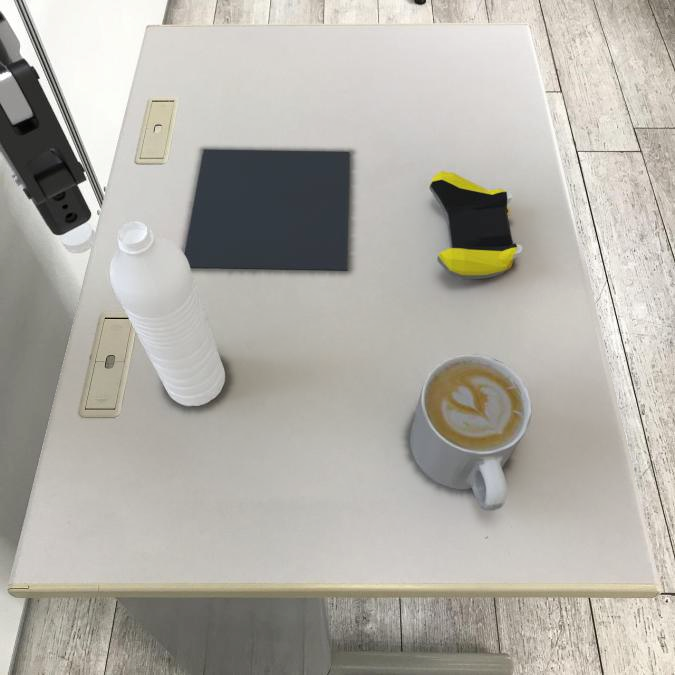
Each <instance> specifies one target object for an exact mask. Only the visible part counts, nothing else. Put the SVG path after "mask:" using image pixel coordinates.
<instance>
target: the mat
mask: <svg viewBox="0 0 675 675" xmlns="http://www.w3.org/2000/svg"><path fill="white" fill-rule="evenodd" d="M202 150H203V151H202V156H201V161H200V162H201V163H200V166H199V174H198V177H197V183H196V188H195V193H194V200H193V206H192V210H191V216H190V222H189V226H188V227H189V228H188V233H187V238H186V243H185V248H184V255H185V256H186V258H187V260H188V263H189V265H190V269H231V270H232V269H233V270H234V269H236V270H238V269H240V270H285V271H286V270H287V271H288V270H290V271H335V272H336V271H337V272H338V271H339V272H342V271H344V272H345V271H348V242H349V241H348V240H349V238H348V237H349V194H350V193H349V191H350V186H349V185H350V151H341V150H340V151H339V150H338V151H336V150H335V151H333V150H331V151H330V150H323V151H322V150H276V149H275V150H274V149H273V150H271V149H208V148H205V149H202Z"/></svg>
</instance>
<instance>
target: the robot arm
mask: <svg viewBox="0 0 675 675" xmlns="http://www.w3.org/2000/svg"><path fill="white" fill-rule="evenodd" d="M20 51H21V42H20V40H19V38H18V36H17V35H16V32H15V31H14V29H13V28H12V27H11V24H10V22H9V21H8V19H7V18H6V17H5V15H4V13H3V12H2V11H1V10H0V155H1V157H2V159H3V160H4V161H5V163H6V165H7V166H8V168H9V169H10V170H11V172H12V174H13V175H11V178H12V179H13V181H14V183H15V184H16V185H17V186H18V187H19V186H21V188H22V191H23V193H24V195H25V196H26V198H27V200H29V201H30V200H31V202H32V203H33V205H34V206H35V208H36V210H37V212H38V213H39V215H40V217H41V218H42V220H43V221H44V223H45V225H46V226H47V228H48V229H49V230H50V232H51V233H52V234H53V235H55V236H59V235H63V234H65V233H67V232H69V231H71V230H73V229H75V228H76V227H78V226H80V225H82V224H84V223H86V222H87V223H88V222H89V221H90V219H91V218H92V210H91V209H90V207H89V206H88V203H87V201H86V199H85V198H84V195H83V193H82V191H81V188H80V187H79V185H80V184H83V183H84V182H86V181H87V180H88V179H87V176H86V175H85V173H86V169H85V168H84V165H83V164H82V163H81V162H80V161H78V158H77V156H76V154H75V152H74V150H73V147H72V146H71V144H70V142H69V139H68V138H67V136H66V133H65V132H64V129H63V127H62V126H61V124H60V121H59V119H58V117H57V115H56V113H55V111H54V109H53V107H52V105H51V103H50V101H49V99H48V96H47V95H46V92H45V91H44V89H43V86H42V84H41V82H40V81H39V80H41V77H40V74H39V72H38V71H37V70H36V68H35V67H34V66H33V65H30V63H29V62H28V61H27V59H25V58H24V57H23V56H22V55H21V52H20Z"/></svg>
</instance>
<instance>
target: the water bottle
mask: <svg viewBox="0 0 675 675" xmlns="http://www.w3.org/2000/svg"><path fill="white" fill-rule="evenodd" d="M58 236H59V240H60V242H61V244H62V246H63V247H64V249H65V250H66V251H67V252H69V253H71V254H82V253H85V252H87V251H89V250H91V249H92V248H93V247H94V245H95V244H96V242H97V235H96V233H95V231H94V229H93V227H92V225H91V224H90V223H88V221H87V222H86V223H84V224H82V225H80V226H78V227H76V228H75V229H73V230H71V231H69V232H67V233H65V234H63V235H58ZM117 246H118V249H117V250H116V252H115V253H114V255H113V256H112V259H111V262H110V265H109V282H110V285H111V288H112V291H113V292H114V295H115V296H116V298H117V299H118V302H119V303H120V305H121V307H122V308H123V310H124V312H125V315H126V316H127V318H128V319H129V322H130V324H131V325H132V328H133V329H134V331H135V333H136V335H137V338H138V340H139V341H140V343H141V345H142V346H143V348H144V351H145V353H146V355H147V356H148V358H149V360H150V362H151V363H152V365H153V367H154V369H155V372H156V373H157V375H158V377H159V379H160V381H161V382H162V384H163V387H164V389H165V390H166V392H167V394H168V395H169V397H170V398H171V399H172V400H173V401H175V402H176V403H178V404H179V405H182V406H185V407H193V406H194V407H199V406H203V405H206V404H208V403H209V402H211V401H212V400H214V399H215V398H216V397H218V395H219V394H220V393H221V391H222V390H223V386H224V385H225V382H226V371H225V368H224V364H223V362H222V359H221V357H220V353H219V351H218V347H217V344H216V342H215V338H214V334H213V332H212V329H211V325H210V323H209V320H208V317H207V314H206V311H205V308H204V307H203V303H202V300H201V297H200V294H199V291H198V288H197V284H196V283H195V282H196V281H195V279H194V277H193V273H192V268H190V265H189V263H188V260H187V258H186V256H185V255H184V254H185V252H184V251H183V250H182V249H181V248H180V247H179V246H178V245H177V244H175V243H174V242H173V241H171V240H169V239H167V238H164V237H162V236H160V235H159V236H158V235H156V234H154V233H153V231H152V230H151V229H150V228H149V227H147V225H146V224H145V223H143V222H141V221H136V220H135V221H129V222H127V223H124V224H123V225H121V227H120V228H119V230H118V231H117Z"/></svg>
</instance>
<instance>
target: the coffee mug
mask: <svg viewBox="0 0 675 675" xmlns="http://www.w3.org/2000/svg"><path fill="white" fill-rule="evenodd" d="M531 419H532V400H531V396H530V393H529V391H528V388H527V386H526V385H525V383H524V381H523V380H522V378H521V377H520V376H519V375H518V374H517V373H516V372H515V370H513V369H512V368H511V367H510V366H508V365H507V364H505V363H504V362H502V361H500V360H498V359H496V358H493V357H490V356H487V355H482V354H478V353H465V354H459V355H454V356H451V357H448V358H446V359H445V360H442V361H441V362H439V363H438V364H437V365H436V366H435V367H433V368H432V370H431V371H430V372H429V373H428V375H427V376H426V378H425V380H424V382H423V385H422V388H421V391H420V395H419V399H418V403H417V406H416V411H415V414H414V418H413V421H412V424H411V429H410V436H409V438H410V439H409V443H410V449H411V453H412V456H413V458H414V461H415V462H416V464H417V465H418V467H419V469H420V470H421V471H422V472H423V473H424V474H425V475H426V476H427V477H428V478H430V479H431V480H432V481H434V482H436V483H438V484H439V485H441V486H444V487H447V488H450V489H456V490H470V489H472V492H473V494H474V498H475V500H476V502H477V504H478V506H479V507H480V509H482V510H483V511H487V512H489V511H490V512H491V511H492V512H493V511H496V510H499V509H501V508H503V506H504V505H505V503H506V500H507V497H508V496H507V495H508V488H507V487H508V486H507V482H506V476H505V473H504V471H503V467H504V465H505V464H506V462H507V461H508V460H509V458H510V457H511V455H512V453H513V452H514V450H515V449H516V447H518V445H519V444H520V442H521V440H522V438H523V437H524V436H525V434H526V432H527V430H528V428H529V426H530V423H531Z"/></svg>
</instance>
